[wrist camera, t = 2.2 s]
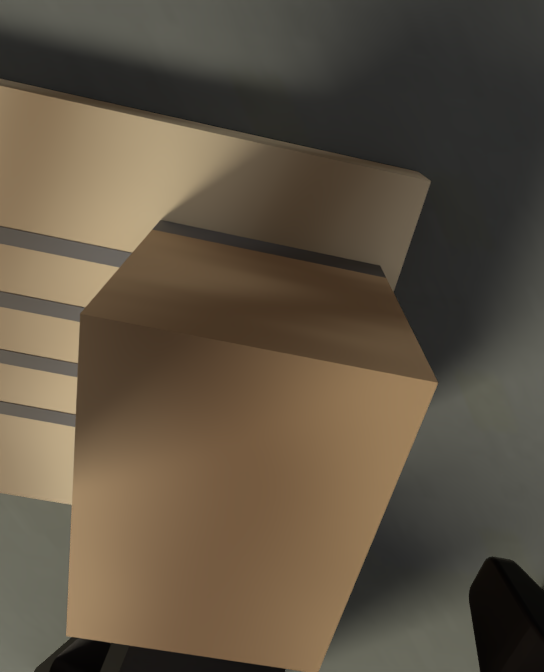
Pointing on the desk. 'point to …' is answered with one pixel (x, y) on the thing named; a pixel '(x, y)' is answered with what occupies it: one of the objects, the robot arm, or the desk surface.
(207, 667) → the phone stand
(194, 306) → the block
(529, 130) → the desk surface
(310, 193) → the pine board
